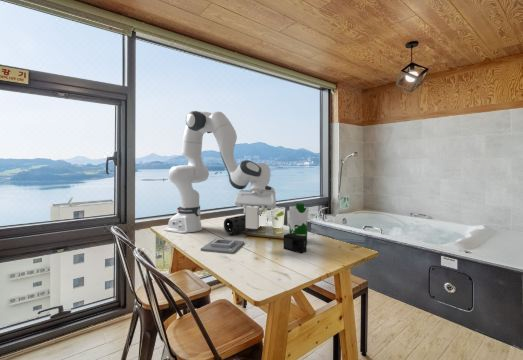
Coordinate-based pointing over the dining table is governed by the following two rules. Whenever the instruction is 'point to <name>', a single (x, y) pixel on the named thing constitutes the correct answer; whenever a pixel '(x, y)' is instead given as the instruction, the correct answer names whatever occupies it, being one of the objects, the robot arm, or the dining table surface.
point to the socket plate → (223, 246)
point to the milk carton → (298, 220)
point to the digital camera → (295, 243)
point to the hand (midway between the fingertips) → (252, 214)
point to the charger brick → (252, 217)
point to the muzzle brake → (236, 224)
